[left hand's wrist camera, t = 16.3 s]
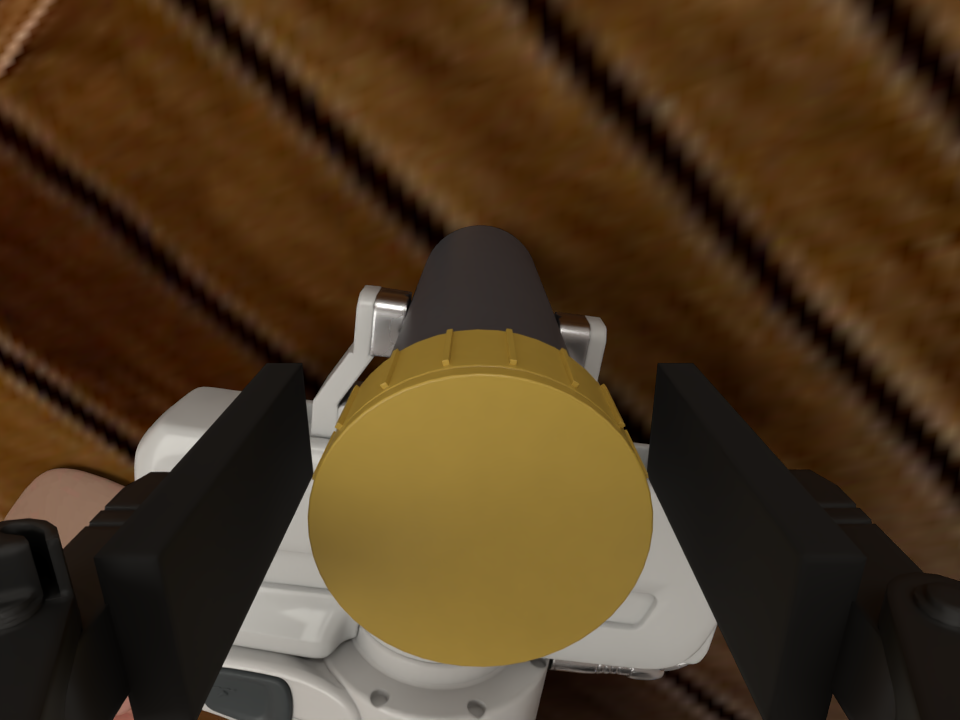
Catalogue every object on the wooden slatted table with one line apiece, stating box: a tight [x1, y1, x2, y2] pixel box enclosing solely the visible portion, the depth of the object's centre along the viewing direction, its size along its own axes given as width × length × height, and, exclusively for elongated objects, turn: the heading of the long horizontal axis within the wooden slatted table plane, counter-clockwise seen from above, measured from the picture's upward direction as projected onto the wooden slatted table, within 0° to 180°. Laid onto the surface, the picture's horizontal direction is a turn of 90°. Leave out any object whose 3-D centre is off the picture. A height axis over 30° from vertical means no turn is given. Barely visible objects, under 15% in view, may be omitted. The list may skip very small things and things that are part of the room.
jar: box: [390, 226, 570, 357], centre depth 19 cm, size 5×5×16 cm
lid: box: [308, 329, 653, 667], centre depth 11 cm, size 6×6×2 cm
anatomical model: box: [4, 468, 134, 720], centre depth 30 cm, size 13×4×12 cm
